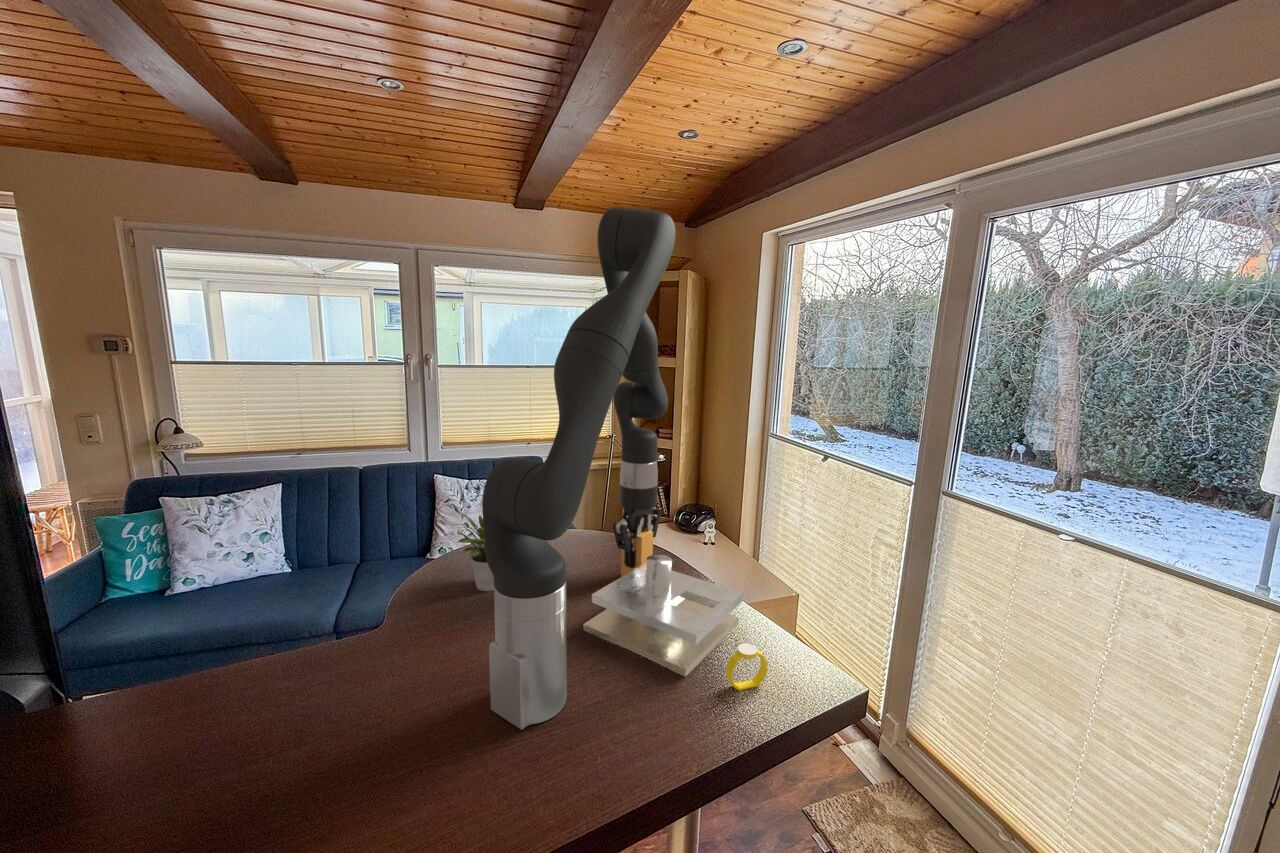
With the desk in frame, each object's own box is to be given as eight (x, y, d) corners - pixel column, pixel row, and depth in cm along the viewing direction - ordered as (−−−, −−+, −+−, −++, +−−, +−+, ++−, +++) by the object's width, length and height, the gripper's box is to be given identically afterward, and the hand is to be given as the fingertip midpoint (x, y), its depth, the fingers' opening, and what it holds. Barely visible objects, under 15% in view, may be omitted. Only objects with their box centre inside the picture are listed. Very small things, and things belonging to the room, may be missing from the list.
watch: (732, 698, 71) (732, 659, 70) (723, 685, 74) (722, 648, 73) (770, 687, 73) (770, 649, 72) (760, 675, 76) (759, 638, 74)
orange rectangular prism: (640, 584, 102) (641, 537, 101) (620, 577, 105) (621, 531, 104) (651, 577, 106) (653, 531, 104) (632, 571, 108) (633, 526, 107)
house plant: (446, 574, 106) (443, 498, 103) (513, 563, 112) (512, 491, 109) (452, 606, 93) (449, 520, 91) (528, 592, 99) (527, 511, 96)
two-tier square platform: (691, 679, 74) (694, 602, 72) (583, 630, 86) (583, 563, 84) (743, 625, 89) (747, 560, 87) (644, 590, 101) (645, 532, 99)
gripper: (632, 493, 94) (630, 580, 97) (673, 478, 106) (670, 556, 108) (601, 486, 99) (600, 570, 101) (643, 472, 110) (642, 548, 113)
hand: (636, 562), depth 105 cm, fingers closed on orange rectangular prism, 4 cm apart
